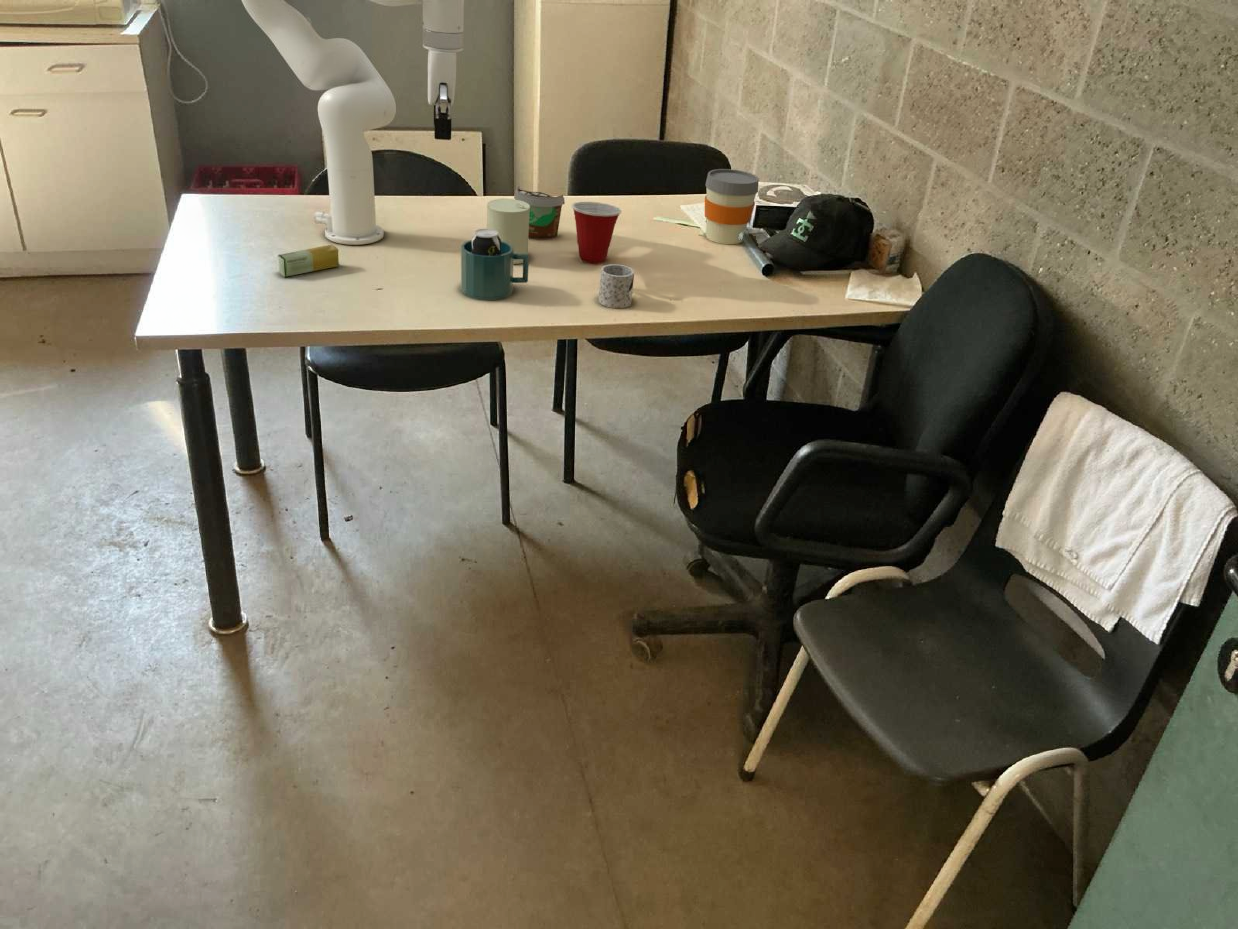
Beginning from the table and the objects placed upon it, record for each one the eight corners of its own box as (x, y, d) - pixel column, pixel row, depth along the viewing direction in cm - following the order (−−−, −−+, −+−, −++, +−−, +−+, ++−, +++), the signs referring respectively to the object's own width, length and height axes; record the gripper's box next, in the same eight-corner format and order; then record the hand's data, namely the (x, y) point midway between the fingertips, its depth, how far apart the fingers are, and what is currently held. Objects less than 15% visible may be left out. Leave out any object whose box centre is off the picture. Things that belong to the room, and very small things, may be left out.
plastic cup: (625, 257, 218) (629, 204, 212) (604, 271, 209) (608, 217, 203) (582, 247, 221) (585, 195, 215) (560, 260, 213) (562, 206, 207)
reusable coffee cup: (725, 250, 228) (734, 186, 220) (688, 234, 236) (695, 172, 228) (760, 241, 235) (770, 179, 227) (723, 226, 243) (732, 166, 235)
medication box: (284, 278, 192) (282, 259, 189) (278, 272, 193) (276, 254, 191) (339, 266, 199) (339, 248, 196) (333, 260, 200) (332, 242, 198)
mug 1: (462, 300, 190) (462, 256, 185) (459, 280, 198) (459, 238, 193) (530, 300, 192) (531, 257, 188) (524, 281, 201) (526, 239, 196)
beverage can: (476, 297, 190) (477, 238, 184) (467, 286, 194) (467, 228, 188) (504, 294, 192) (505, 235, 186) (494, 283, 197) (495, 226, 190)
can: (521, 267, 208) (523, 212, 201) (480, 260, 209) (481, 205, 202) (533, 253, 215) (535, 199, 209) (493, 247, 216) (494, 194, 210)
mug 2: (635, 307, 194) (638, 276, 190) (603, 308, 192) (606, 276, 188) (621, 288, 202) (623, 258, 198) (590, 289, 200) (592, 258, 196)
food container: (503, 233, 225) (504, 191, 219) (515, 226, 230) (517, 184, 224) (551, 244, 221) (553, 201, 216) (563, 237, 226) (565, 194, 221)
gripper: (422, 30, 189) (422, 120, 198) (423, 47, 175) (423, 143, 184) (461, 33, 191) (459, 122, 200) (465, 50, 176) (463, 145, 186)
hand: (442, 132), depth 192 cm, fingers open, 9 cm apart
